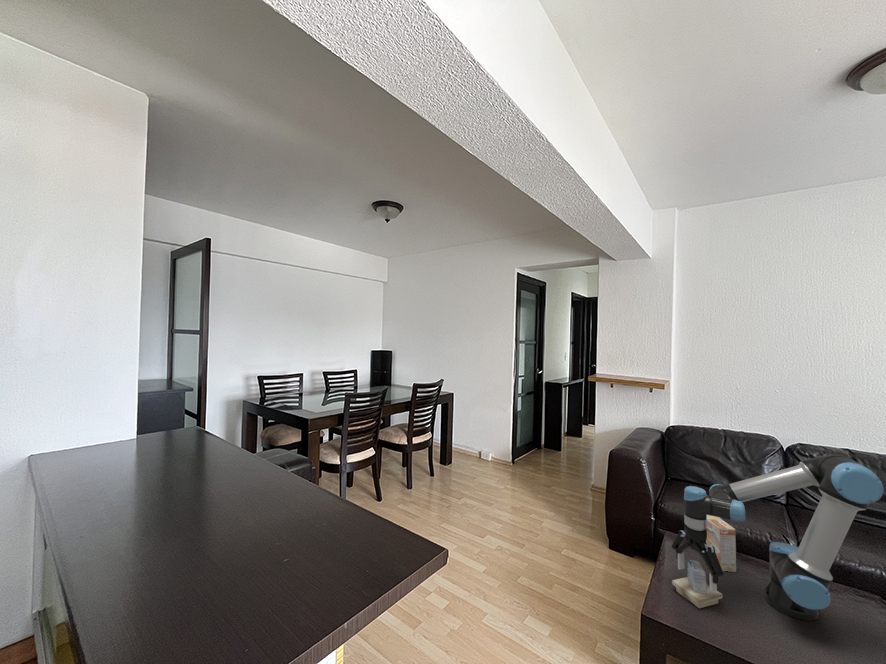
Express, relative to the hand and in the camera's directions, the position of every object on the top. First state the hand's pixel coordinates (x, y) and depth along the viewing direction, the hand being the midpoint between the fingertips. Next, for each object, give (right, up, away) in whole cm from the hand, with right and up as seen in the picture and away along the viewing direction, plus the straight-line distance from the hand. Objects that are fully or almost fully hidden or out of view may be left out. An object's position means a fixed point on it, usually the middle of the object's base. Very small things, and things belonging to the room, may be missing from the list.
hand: (696, 579), depth 145 cm
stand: (0, -7, 0) cm, 7 cm away
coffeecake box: (+27, -8, +23) cm, 36 cm away
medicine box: (0, -3, 0) cm, 3 cm away
